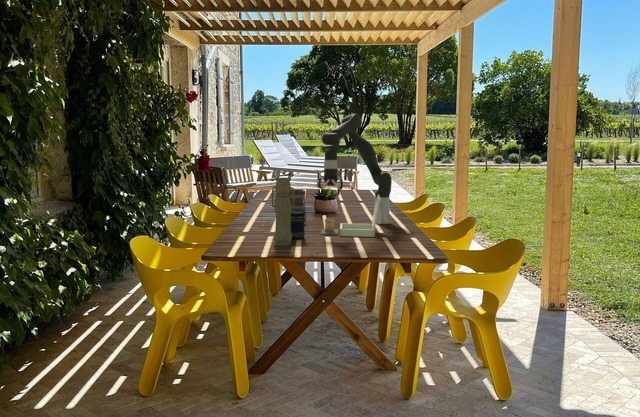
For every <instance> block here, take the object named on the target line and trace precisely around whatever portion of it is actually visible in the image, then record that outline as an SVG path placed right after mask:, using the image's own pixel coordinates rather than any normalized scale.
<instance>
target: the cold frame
mask: <svg viewBox="0 0 640 417" xmlns="http://www.w3.org/2000/svg"><path fill="white" fill-rule="evenodd" d="M380 200H381V198H380V196H379V195H377V200H376V205H375V204H374V211H373V216H372V220H371V223H345V222H343V223H341V222H340V226H339V237H367V238H369V237H370V238H373V237H374V238H376V225H377V224H376V219H377V214H378V209H379V205H380Z"/></svg>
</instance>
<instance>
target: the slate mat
mask: <svg viewBox="0 0 640 417" xmlns="http://www.w3.org/2000/svg"><path fill="white" fill-rule="evenodd" d="M339 233H340V228H334V232H325V228H321V230H320V236H339Z"/></svg>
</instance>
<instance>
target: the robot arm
mask: <svg viewBox="0 0 640 417" xmlns="http://www.w3.org/2000/svg"><path fill="white" fill-rule="evenodd" d="M362 124H363V120H362V117H361V116H360V114H358V113H352V114H349V115H347V116H345V117H343V118H342V119H341V123H340V124H339V125H338V126H336V127H334V128H333V129H331V130H328V131H326V132H325V133H323V134H322V136H321V142H322V143H323V144H324V145H325V146H331V148H328V149H326V150H324V166H323V169H324V171H323V173H324V174H323V175H324V177H319V178H318V185H317V186H318V189H321V192H320V193H321V195H322V197H324V196H325V187H326V186H335V187H336V189H337V190H336V192H337V193H336V196H337V197H339V196H340V194H341V192H340V191H341V189H343V188H344V184H343V183H344V180H343V177H338V151H339V146H340V143H341V140H342V139H343V138H344V137H345V136H346V135H348V137H349V138H350V139H351V141H352V143H353V144H354V147H355V148H356V149H357V151H358V154H359V155H360V157H361V159H362V160H363V162H364V164H365V166H366V167H367V169H368V170H369V173H370V176H371V179H372V181H373V183H374V184H375V185H376V186H378V187H377V188H378V189H377V191H376V192H375V193H374V206H375V205H376V200H377V195H379V196H380V198H381V200H380V205H379V209H378V214H377V219H376V224H375V225H389V224H390V194H391V191H392V175H391V174H390V173H388V172H387V171H386V172H385V171H383V170H382V169H381V167H380V165H379V163H378V158H377V152H376V151H375V149H374V147H373V145H372V143H371V142H370V141H368V140H366V139H365V138H363V137H362V136H360V135H359V134H358V132H357V131H356V130H357V129H359V128H360V127H361V126H362ZM322 181H323V182H324V183H323V185H322V184H321V183H322ZM338 181H339V183H340V185H339V184H338V183H337V182H338Z"/></svg>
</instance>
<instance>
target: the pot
mask: <svg viewBox="0 0 640 417" xmlns="http://www.w3.org/2000/svg"><path fill="white" fill-rule="evenodd" d="M335 221H336V220H335V218H325V219H324V229H325V232H334V229H335Z"/></svg>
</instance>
